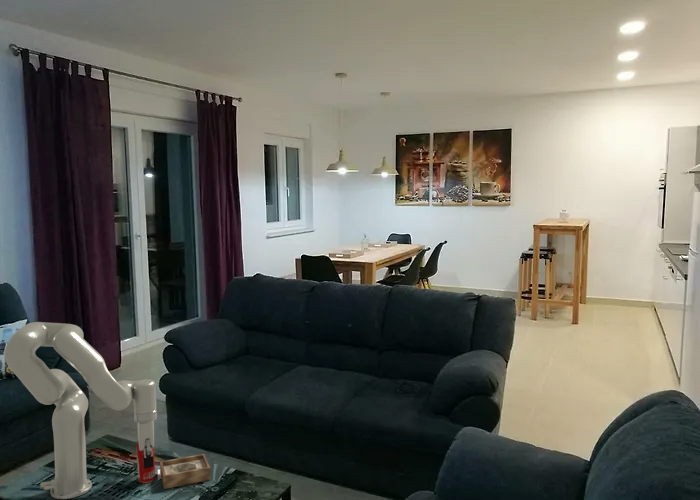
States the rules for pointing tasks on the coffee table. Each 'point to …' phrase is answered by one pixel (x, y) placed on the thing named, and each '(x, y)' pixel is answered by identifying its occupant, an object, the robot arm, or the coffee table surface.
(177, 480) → the wooden box
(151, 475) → the beverage can
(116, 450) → the coffee table surface
